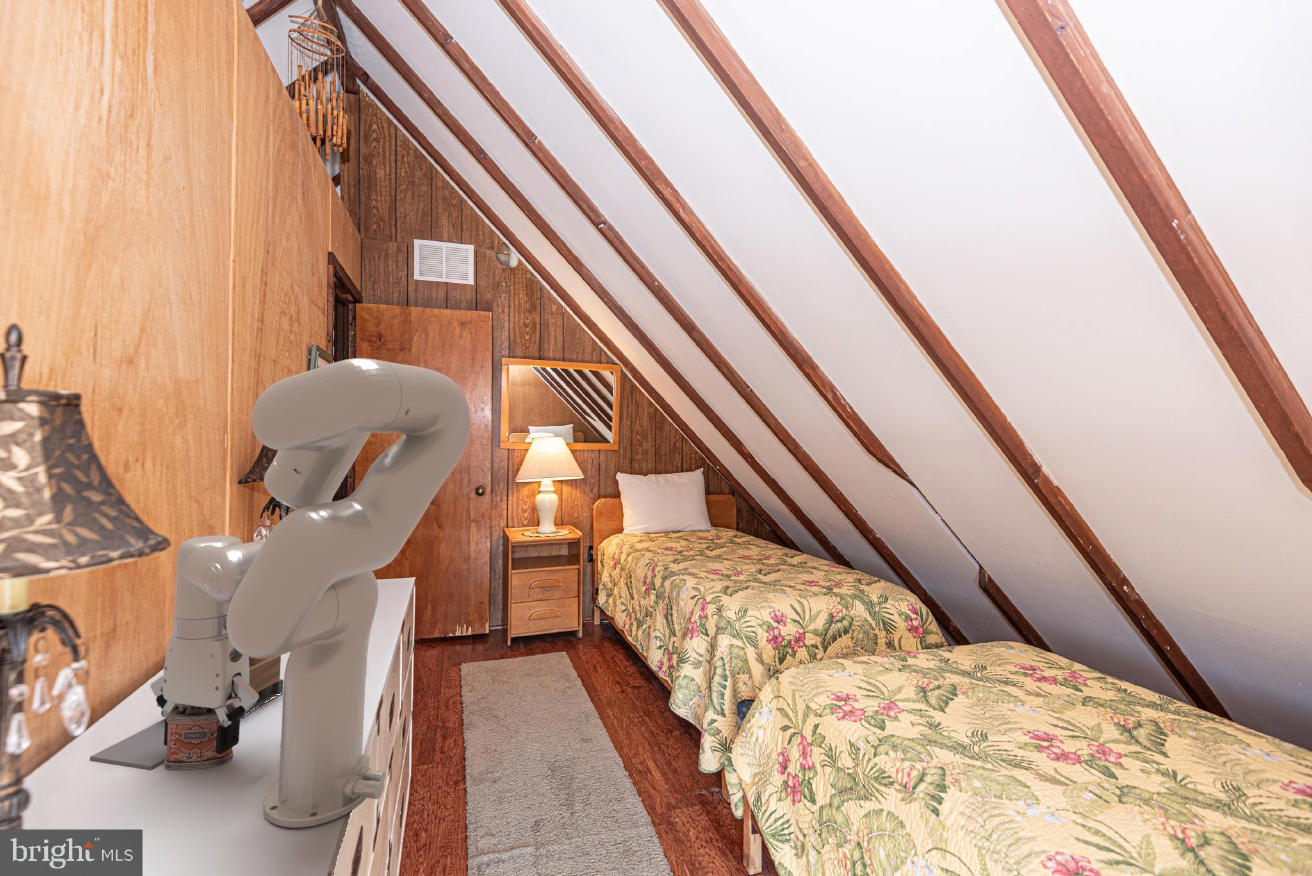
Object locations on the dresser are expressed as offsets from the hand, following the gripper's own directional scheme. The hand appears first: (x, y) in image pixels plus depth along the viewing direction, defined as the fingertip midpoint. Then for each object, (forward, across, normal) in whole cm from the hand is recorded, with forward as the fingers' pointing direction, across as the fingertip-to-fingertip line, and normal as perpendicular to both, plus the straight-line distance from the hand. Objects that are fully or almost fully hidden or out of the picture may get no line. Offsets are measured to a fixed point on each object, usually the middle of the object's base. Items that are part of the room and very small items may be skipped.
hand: (201, 744), depth 82 cm
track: (+3, +10, -8) cm, 13 cm away
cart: (+3, +10, -13) cm, 16 cm away
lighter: (+3, 0, 0) cm, 3 cm away
